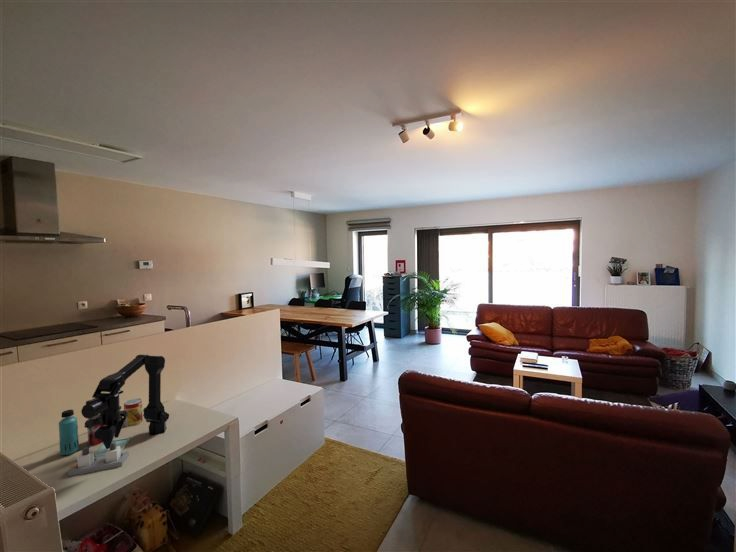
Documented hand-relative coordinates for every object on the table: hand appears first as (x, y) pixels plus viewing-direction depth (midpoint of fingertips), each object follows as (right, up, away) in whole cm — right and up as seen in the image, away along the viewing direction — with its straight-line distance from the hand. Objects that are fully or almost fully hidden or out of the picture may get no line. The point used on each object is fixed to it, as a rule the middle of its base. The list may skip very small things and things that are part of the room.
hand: (112, 442), depth 137 cm
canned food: (-17, -8, +36) cm, 41 cm away
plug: (0, -9, +1) cm, 9 cm away
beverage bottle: (-26, -10, +8) cm, 29 cm away
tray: (-9, -9, +12) cm, 18 cm away
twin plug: (-9, -9, -3) cm, 13 cm away
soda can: (-21, -9, +17) cm, 29 cm away
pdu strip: (-4, -10, -1) cm, 11 cm away
